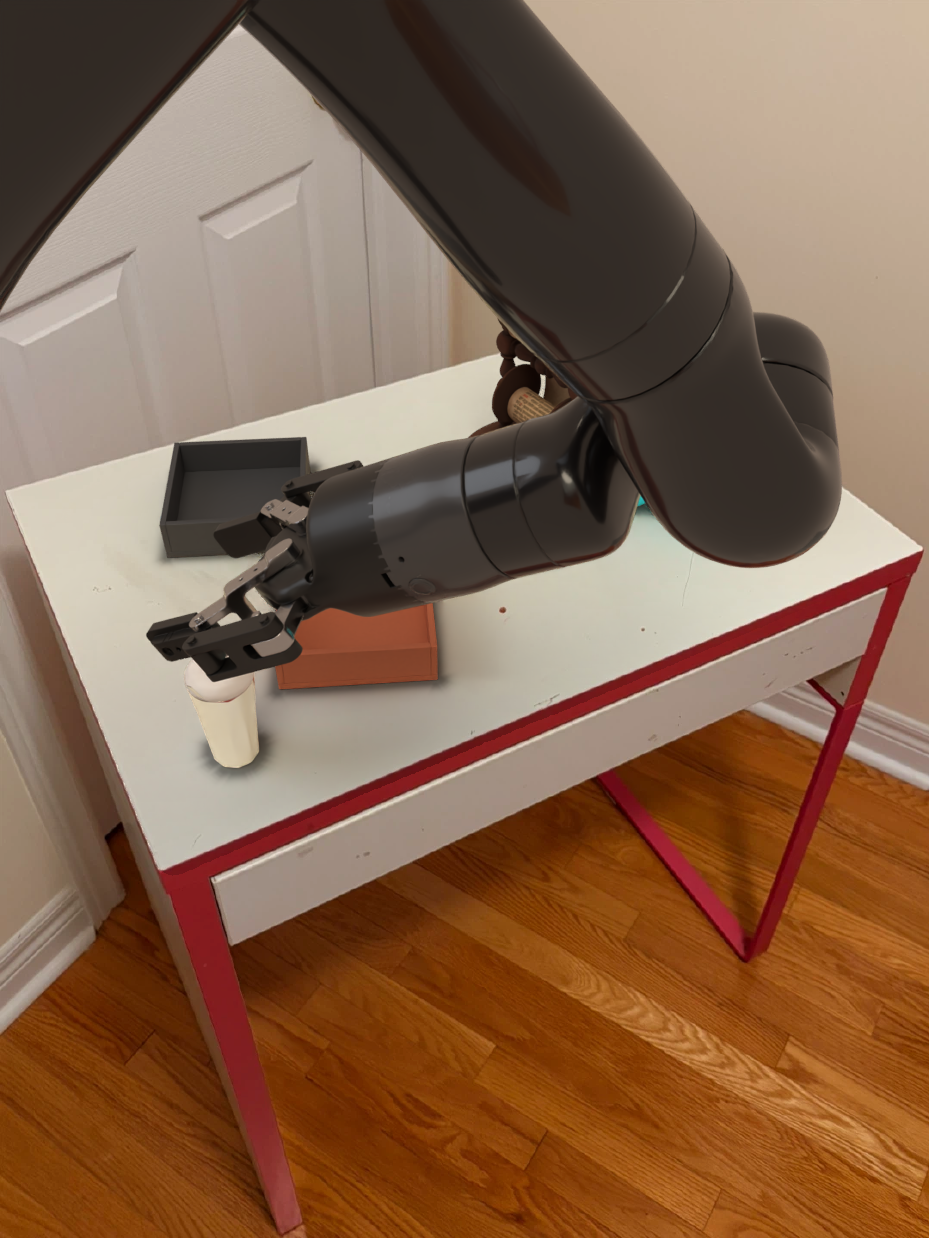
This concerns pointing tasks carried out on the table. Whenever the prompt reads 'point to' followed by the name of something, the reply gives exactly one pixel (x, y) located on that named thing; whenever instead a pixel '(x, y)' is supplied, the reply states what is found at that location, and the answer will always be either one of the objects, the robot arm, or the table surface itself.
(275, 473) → the grey bin
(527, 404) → the wooden thread spool stand
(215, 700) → the milkshake
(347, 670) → the terracotta bin
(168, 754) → the table surface
